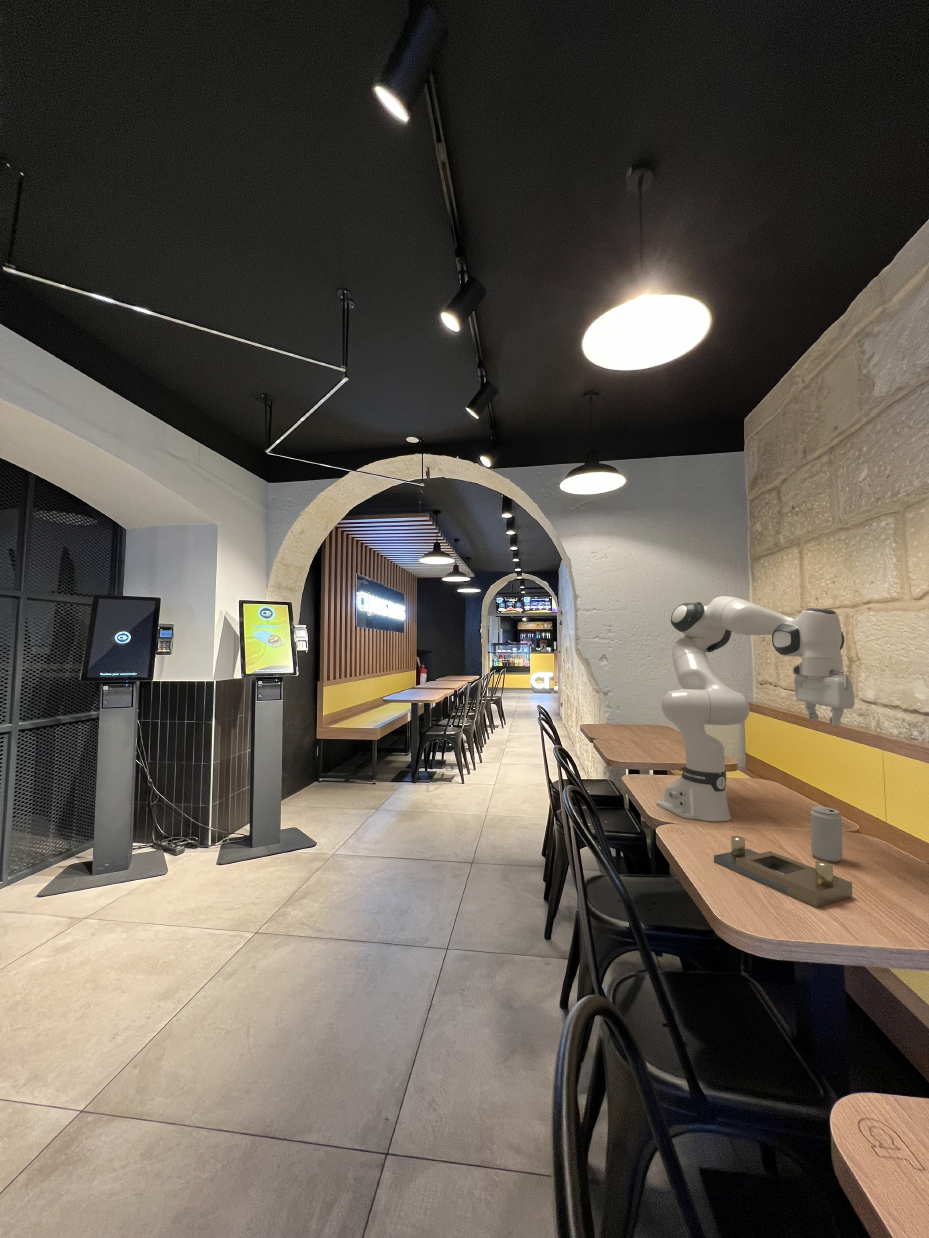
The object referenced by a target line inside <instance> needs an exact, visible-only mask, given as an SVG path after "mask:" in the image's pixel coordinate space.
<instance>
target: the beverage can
mask: <svg viewBox="0 0 929 1238" xmlns="http://www.w3.org/2000/svg"><path fill="white" fill-rule="evenodd" d="M811 809H812V810H811V811H810V815H809V816H810V852H811V854H812V855H813V856H814V858H816V859H817V860H819V861H825V862H829V863H839V862H840V861H842V860H843V835H842V834H843V833H842V832H843V831H842V830H843V828H842V827H843V826H842V824H843V823H842V821H843V820H842V816H841V815H840V811H839V810H837V809H835V808H831V807H827V806H819V805H817V806H812V807H811ZM838 861H839V862H838Z"/></svg>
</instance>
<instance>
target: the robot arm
mask: <svg viewBox="0 0 929 1238" xmlns="http://www.w3.org/2000/svg"><path fill="white" fill-rule="evenodd" d="M670 623H671V626H673V628H674V629H676V631H678V632H680V633H681V634H683V635H684V636H683V637H681V638H678V639H677V640H676V641H675V642H673V645H672V648H671V649H672V661H673V662H672V663H673V666H674V671H675V674H676V678H677V681H678V684H679V685H680V687H681V688H682V689H681V688H680V689H674V690H669V691H667V692H666V693H665V695H664V696H663V698H662V700H661V709H662V713H663V715H664V717H665V718H666V719H667V720H668V721H669V722H671V723H672V724H673V725H674V726H675V727H676V728H677V729H678V731H679V732H680V734H681V735H682V739H683V742H684V747H685V751H684V752H685V766H684V767H679V768H678V769H679V770H678V771H679V772H682V773H681V775H680V777H679V778H678V779H676V780H674V781H673V782H672V783H670V784H668V785H667V786H666V787H665V790H664V794H663V795H664V798H661V799H658V800H656V805H657V806H659V807H661V808H662V809H665V810H666V811H669V812H671V813H673V814H676V815H677V816H678V817H679V816H680V817H681V818H683V819H691V820H698V821H707V822H725V821H730V820H731V818H732V816H731V814H730V810H729V806H728V799H727V791H726V786H727V771H726V769H725V763H726V762H725V747H724V745H723V743H722V742H721V741H720V740H718V739H717V738H716V737H714V736H713V735H710V734H707V732H706V730H705V726H706V725H709V726H710V725H711V726H733V725H739V724H743V723H745V722H746V721H747V719H748V717H749V714H750V704H749V701H748V700H747V698H746V697H745V696H744V694H742V693H740V692H738V691H735V689H734V690H733V688H731V687H729V686H727V685H726V684H725V683H724V682H722V681H721V679H719V678H718V677H717V676H716V674H714V671H713V669H712V667H711V665H710V662H709V659H708V657H707V653H713V652H714V651H716V650H719V649H721V648H723V647H725V646H726V645H727V644H728V643H729V641H730V640H731V637H732V633H734V634H739V635H742V636H743V635H744V636H771V644H772V647H773V649H774V650H775V651H776V653H778V654H779V655H781V656H785V657H801V662H800V663H798V664H796V665H794V667H792V674H793V675H794V676H795V677H794V681H793V682H794V695H795V698H796V700H797V701H798V702H800V703H801V702H802V703H804V704H805V705H804V706H805V709H806V711H807V715H808V720H809V721H819V713H817V710H816V707H817V706H818V705H819V706H823V707H828V708H829V707H830V708H831V709H830V711H831V712H832V714H831V717H829V725H831V726H835V727H837V726H839V727H841V725H842V722H841V721H842V720H841V719H842V717H843V716H844V712H845V711H844V710H851V709H852V710H853V709H854V707H855V705H856V704H855V703H856V702H855V692H854V687H853V686H854V685H853V682H852V680H851V679H850V677H849V675H848V674H847V673H846V671H844V666H843V662H844V661H843V655H842V653H841V651H842V649H843V648H844V646H845V642H846V641H845V635H844V632H843V631H842V627H841V620H840V617H839V615H838V613H837V612H836V611H834V610H833V609H830V608H829V609H828V608H817V607H816V608H815V607H814V608H813V607H812V608H811V607H809V608H805V609H803V610H802V611H801V612H800V614H799V615H798V616H797V617H793V616H790V615H787V614H783V613H780V612H777V611H774V610H772V609H769V608H766V607H765V606H764V607H763V606H761V605H758V604H757V603H754V602H751V601H749V600H745V599H744V598H743V599H742V598H739V597H735V596H730V595H728V596H727V595H721V596H716V597H715V598H714V599H712V600H711V601H710V603H709V604H708V605H704V604H703V603H702V602H701V601H697V602H685V603H681V604H680V605H678V606H677V607H675V608H674V610H673V611H672V614H671V616H670Z"/></svg>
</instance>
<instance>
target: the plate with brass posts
mask: <svg viewBox="0 0 929 1238" xmlns="http://www.w3.org/2000/svg"><path fill="white" fill-rule="evenodd" d="M730 846H731V847H730V848H731V849H730V851H729V852H725V853H719V854H714V855H713V863H715V864H718V865H720V866H722V867H725V868H727V869H728V870H732V871H733V872H736V873H738V874H740V875H743V876H745V877H747V878H748V879H749V878H750V880H754V881H756V882H759V883H760V884H763V885H765V886H766V887H769V888H772V889H774V890H776V891H779V892H781V893H783V894H785V895H787V896H789V897H792V898H794V899H796V900H798V901H801V902H803V903H805V904H807V905H809V906H812V907H814V908H816V909H817V908H822V907H824V906H828V905H831V904H835V903H837V902H841V901H844V900H847V899H851V898H853V882H851V881H850V880H848V879H845V878H841V877H839V876H836V875H835V874H834V865H833V864H832V862H828V861H823V860H815V863H814V865H815V867H812V866H811V865H807V864H805V863H802V862H799V861H797V860H794V859H792V858H790V857H787V856H784V855H781V854H779V853H776V852H773V851H771V850H770V851H765V852H760V853H759V852H757V851H754V850H752V849H749V848H746V838H745V837H743V836H738V835H732V836H731V838H730Z"/></svg>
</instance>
